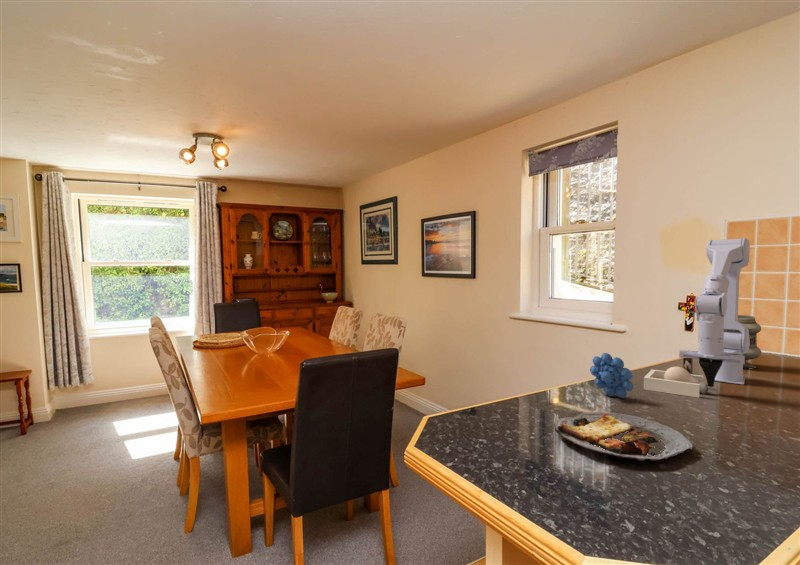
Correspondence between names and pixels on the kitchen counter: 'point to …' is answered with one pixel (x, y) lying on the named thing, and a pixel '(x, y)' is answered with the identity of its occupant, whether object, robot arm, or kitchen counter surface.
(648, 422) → the food plate
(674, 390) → the socket cradle
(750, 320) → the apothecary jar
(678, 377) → the light bulb
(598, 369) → the grapes
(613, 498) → the kitchen counter surface
